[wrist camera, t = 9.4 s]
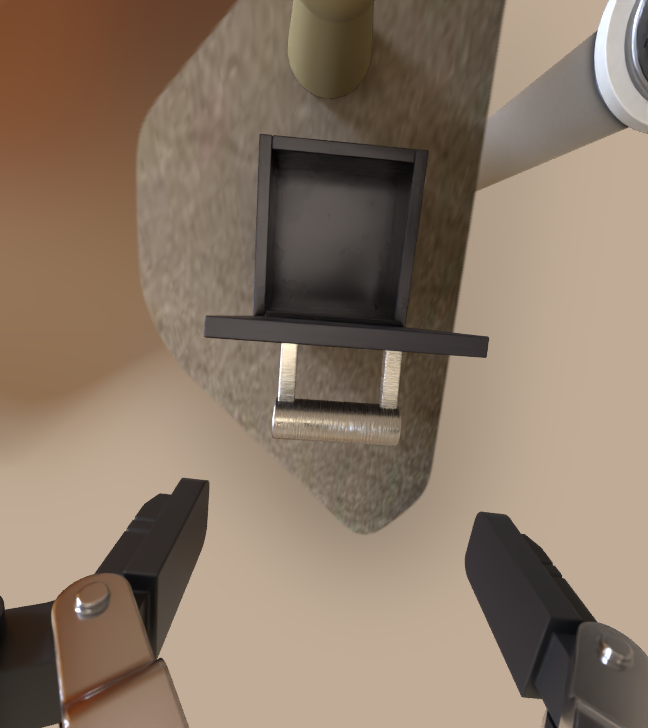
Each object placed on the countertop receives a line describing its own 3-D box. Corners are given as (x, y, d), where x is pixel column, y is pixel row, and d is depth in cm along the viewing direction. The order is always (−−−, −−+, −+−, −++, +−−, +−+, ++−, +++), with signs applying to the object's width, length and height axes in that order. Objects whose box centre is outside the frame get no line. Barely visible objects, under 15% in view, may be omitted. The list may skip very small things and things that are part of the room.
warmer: (269, 157, 30) (259, 133, 24) (407, 170, 30) (428, 150, 25) (262, 310, 33) (252, 320, 27) (388, 320, 33) (404, 332, 27)
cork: (382, 15, 28) (427, -139, 17) (358, 109, 29) (386, 21, 18) (298, -13, 27) (290, -191, 16) (279, 84, 28) (259, -21, 18)
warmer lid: (204, 315, 14) (199, 453, 15) (489, 336, 15) (473, 469, 15) (252, 315, 26) (248, 391, 27) (406, 327, 27) (399, 401, 28)
